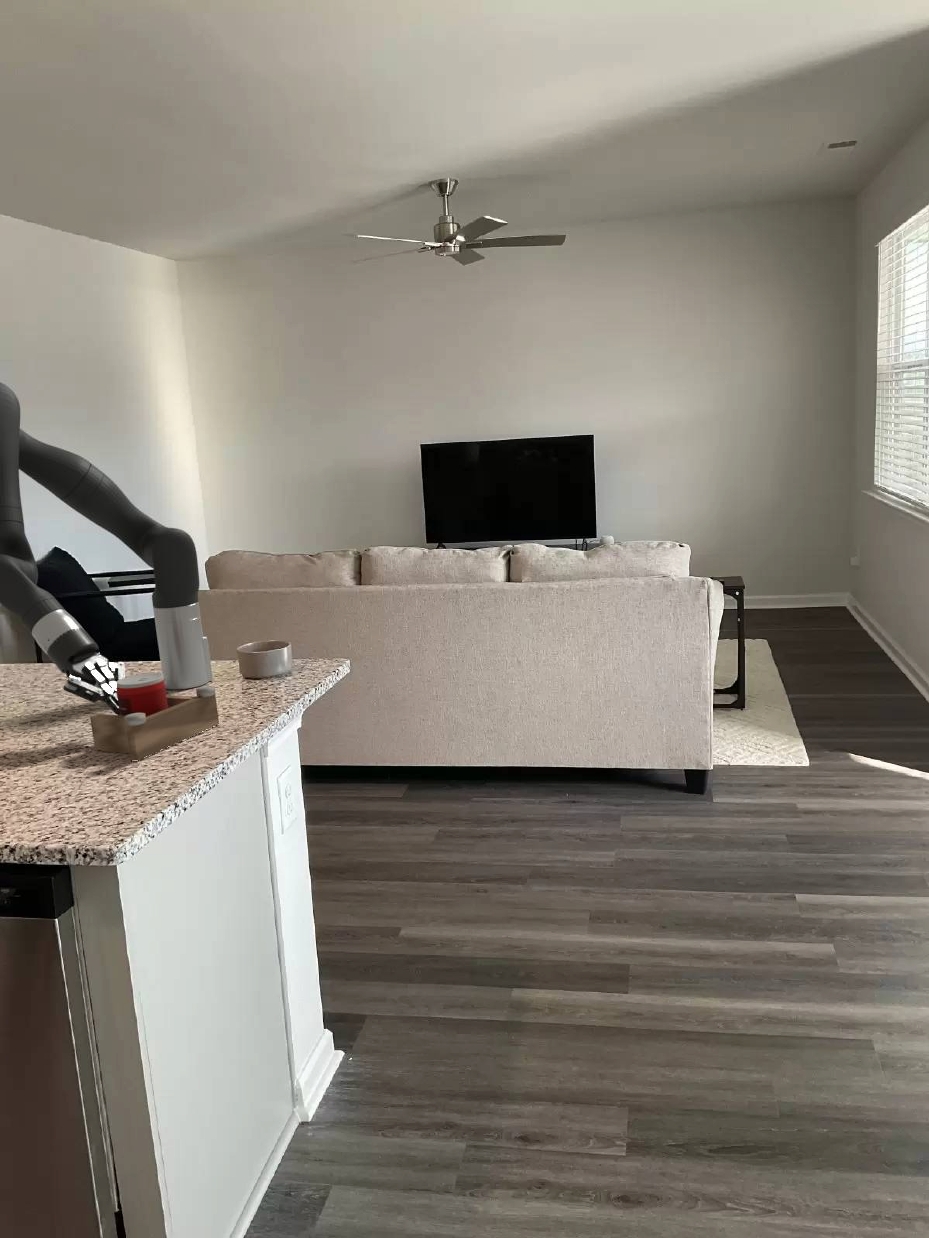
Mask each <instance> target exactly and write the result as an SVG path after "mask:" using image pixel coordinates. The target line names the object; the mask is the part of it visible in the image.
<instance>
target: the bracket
mask: <svg viewBox="0 0 929 1238" xmlns="http://www.w3.org/2000/svg"><path fill="white" fill-rule="evenodd" d="M195 693H196V696H189V695H174V694H173V695H170V694H166V697H167V704H168V709H165V710H163V711H160V712H158V713H155V714H153V715H150V716H148V717H146V715H145V713H133V714H129V715H127V716H122V715H117V714H108V713H106V714H105V713H104V714H103V713H95V714H92V715H89V721H90V725H91V732H92V733H91V734H92V739H93V745H94V746H93V747H94V751H95V750H101V751H100V752H106V751H109V752H108V753H116V752H119V753H118V754H127V753H130V754H129V757H130V761H131V760H141V759H143V758H144V757H146V756H149V755H151V754H153V753H156V752H158V751H160V750H161V749H165V748H167V747H168V746H172V745H174V744H175V743H179V742H181V741H182V740H184V739H187V740H189V739H188V738H189V737H191V736H194V735H196V734H198V733H199V732H202V731H205V730H206V729H209V728H211V727H213V726H216V725H218V724H219V725H220V722H219V721H220V720H219V714H218V713H219V712H218V704H217V696H216V687H215V685H201V686H198V687H197V688H195ZM216 727H217V726H216ZM205 732H206V731H205ZM196 736H197V735H196ZM194 737H195V736H194ZM181 743H182V742H181ZM179 744H180V743H179ZM174 746H175V745H174ZM172 747H173V746H172ZM167 749H168V748H167ZM165 750H166V749H165ZM120 752H121V753H120ZM156 754H157V753H156ZM143 760H144V759H143ZM141 761H142V760H141Z"/></svg>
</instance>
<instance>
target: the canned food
mask: <svg viewBox="0 0 929 1238" xmlns="http://www.w3.org/2000/svg"><path fill="white" fill-rule="evenodd" d="M166 689H167V688H165V683H164V677H163V674H162V673H159V672H150V673H149V672H148V673H146V672H145V673H140V674H133V675H129V676H125V678H122V679H120V680H118V681H117V682H116V690H117V698H118V704H119V711H120V715H122V716H127V715H129V714H133V713H145V715H146V717H148V716H150V715H153V714H155V713H158V712H160V711H163V710H165V709H168V704H167V697H166V695H167V690H166Z"/></svg>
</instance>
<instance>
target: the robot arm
mask: <svg viewBox="0 0 929 1238" xmlns="http://www.w3.org/2000/svg"><path fill="white" fill-rule="evenodd" d="M20 404H21V403H20V402H19V399H18V397H17V395H16V394H15V392H14V391H13V390H12V389H11V388H10V387H9V386H8V385H6V384H4V383H3V382H0V604H1V606H2V607H4V608H5V609H6V610H8V611H9V612H10V613H12V614H13V615H14V616H15V617H17V619H18V620H19V621H20V622H21V624H22V626H24V627H25V629H26V630H27V631H28V632H29V633H30V634H31V635H32V636H33V638H34V640H35V641H36V643H37V644H38V646H39V647H40V648H41V649H42V651H43V652H44V653H45V654H46V655H47V657H48V658H49V659H50V660H51V661H52V663H53V664H54V665H55V666H56V668H58V669H59V671H60V672H61V673H62V674H64V675H66V677H67V681H66V682H65V684H64V685H63V688H62V689H63V691H65V692H68V693H69V694H71V695H74V696H77V697H79V698H82V699H84V700H87V701H88V702H91V703H93V704H94V703H97V702H99V701H100V702H102V703H105V704H106V705H107V706H108V708H109V709H110V710H111V711H112V712H113V713H114V715H120V711H119V704H118V698H117V690H116V682H117V681H118V680H120V679H122V678H125V677H126V669H125V668H126V667H125V663H124V662H123V661H118V662H117V663H114V662H110V660H109V659H108V658H107V657H105V656H104V655H102V654H101V652H100V649H99V645H98V643H96V641H95V640H94V639H93V638H92V637H91V636H90V634H89V633H88V632H87V631H86V630H85V629H84V628H83V627H82V625H81V624H80V623H79V622H78V621H77V619H75V617H74V616H72V615H71V614H70V613H69V612H67V610H66V609H65V608H64V606H63V605H62V604H60V602H59V601H58V600H57V599H56V598H55V597H54V596H53V594H51V593H50V592H49V591H47V590H45V589H43V588H41V587H39V586H38V585H37V583H38V579H39V571H38V569H39V568H38V566H37V562H36V559H35V557H34V556H35V555H34V553H33V550H32V548H31V544H30V542H29V540H28V538H27V535H26V530H25V522H24V521H25V520H24V514H23V513H24V512H23V505H22V500H21V499H22V498H21V489H20V488H21V486H20V471H21V472H23V473H24V475H26V476H28V477H29V478H31V479H32V480H33V481H35V482H36V483H38V484H39V485H40V486H42V487H44V488H45V489H46V490H48V491H49V493H51V494H52V495H54V496H55V497H56V498H57V499H59V500H60V501H62V502H63V503H65V504H66V505H67V506H68V507H70V508H72V509H73V510H74V511H75V512H77V513H78V514H80V515H82V516H83V517H84V518H86V519H87V520H88V521H90V522H92V523H93V524H94V525H97V526H98V527H100V528H102V529H104V530H105V531H107V532H109V533H110V534H112V535H113V536H114V537H116V538H117V539H118V540H119V541H121V542H122V543H123V544H124V545H125V546H127V547H128V548H129V549H130V550H131V551H132V552H133V553H134V554H135V555H136V556H137V557H138V558H139V559H141V561H143V562H144V563H145V564H146V565H148V567H150V568H151V569H152V570H153V575H154V591H153V592H152V594H151V601H152V607H153V609H152V610H153V616H154V623H155V631H156V638H157V639H156V640H157V645H158V651H159V659H160V666H161V672H162V673H161V674H162V675H163V677H164V683H165V689H168V690H184V689H191V688H196V687H197V688H198V687H201V686H204V685H206V684H207V683H209V682H210V681H213V680H214V678H213V671H212V670H213V669H212V661H211V654H210V653H211V652H210V647H209V638H208V637H207V636H206V635H205V636H204V632H203V626H202V624H203V623H202V618H201V609H200V603H199V591H200V575H199V574H200V573H199V572H200V571H199V563H198V562H199V561H198V554H197V553H198V552H197V549H196V545H195V544H196V543H195V542H194V540H193V538H192V536H191V535H190V534H188V532H186V531H184V530H183V529H180V528H178V527H177V528H176V527H167V526H166V525H164V524H161V523H160V522H158V521H156V520H154V519H153V518H152V517H150V516H148V515H147V514H145V513H144V512H143V511H142V510H140V509H139V508H137V506H136V505H134V503H132V501H131V500H130V499H129V498H128V497H127V496H126V495H125V493H124V492H123V491H122V489H121V487H119V486H118V485H117V484H116V483H115V481H113V480H112V479H111V478H110V477H109V476H108V475H107V474H106V473H104V472H103V471H102V470H100V468H98V467H96V466H95V465H94V464H92V462H90V461H89V460H88V459H86V458H84V457H82V456H81V455H80V454H79V455H78V454H77V453H74V452H71V451H69V450H66V449H64V448H61V447H57V446H54V445H51V444H49V443H46V442H43V441H40V440H39V439H36V438H35V437H33V436H32V435H30V434H28V433H27V432H26V431H24V430H23V429H22V428H20V427H21V405H20Z"/></svg>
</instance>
